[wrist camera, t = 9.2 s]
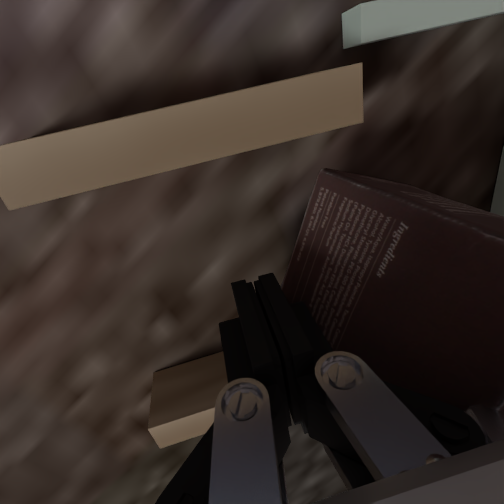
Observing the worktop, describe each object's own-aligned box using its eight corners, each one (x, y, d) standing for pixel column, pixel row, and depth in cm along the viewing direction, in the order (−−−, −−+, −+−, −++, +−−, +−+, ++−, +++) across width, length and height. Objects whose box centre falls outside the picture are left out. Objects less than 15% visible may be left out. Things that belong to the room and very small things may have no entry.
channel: (28, 138, 10) (-28, 152, 7) (317, 71, 11) (362, 62, 8) (163, 391, 16) (160, 448, 13) (338, 336, 17) (367, 379, 14)
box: (267, 307, 12) (433, 492, 7) (316, 162, 10) (618, 274, 5) (359, 294, 16) (519, 412, 10) (412, 183, 14) (652, 263, 8)
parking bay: (341, 13, 10) (360, 3, 9) (563, -34, 11) (603, -48, 10) (355, 349, 18) (367, 365, 17) (484, 308, 18) (502, 320, 17)
